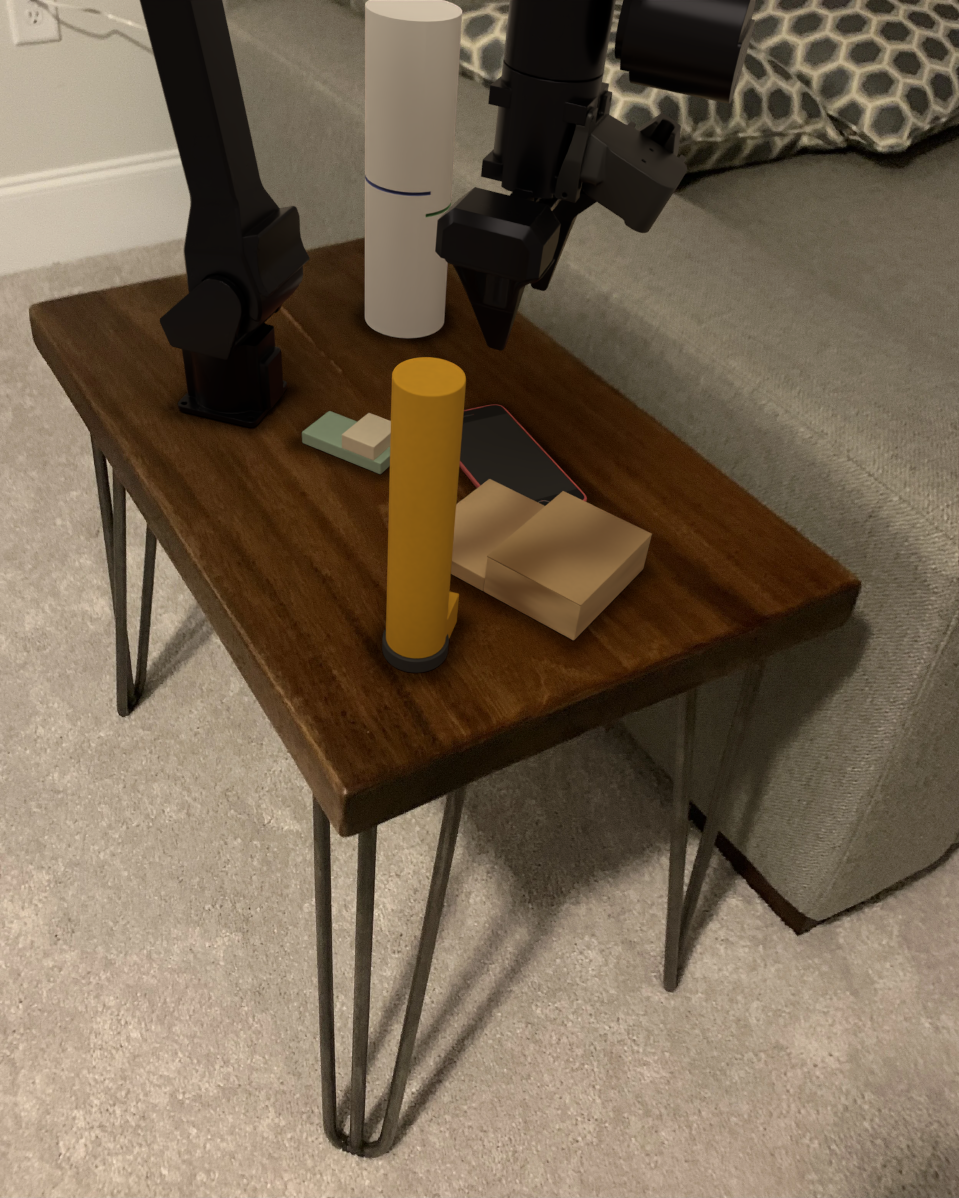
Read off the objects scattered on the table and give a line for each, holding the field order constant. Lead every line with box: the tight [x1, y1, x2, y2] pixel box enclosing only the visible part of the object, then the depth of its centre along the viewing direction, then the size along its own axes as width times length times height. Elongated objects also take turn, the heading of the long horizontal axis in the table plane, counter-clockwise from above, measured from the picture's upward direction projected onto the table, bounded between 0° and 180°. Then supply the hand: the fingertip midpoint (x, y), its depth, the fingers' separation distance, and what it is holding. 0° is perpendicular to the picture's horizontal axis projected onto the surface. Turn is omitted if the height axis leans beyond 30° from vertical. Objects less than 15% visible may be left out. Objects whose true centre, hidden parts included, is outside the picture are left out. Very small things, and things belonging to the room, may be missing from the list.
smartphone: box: [459, 403, 588, 506], centre depth 78 cm, size 7×1×14 cm
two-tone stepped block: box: [301, 410, 391, 475], centre depth 77 cm, size 7×4×2 cm, turn 61°
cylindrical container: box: [364, 0, 463, 339], centre depth 85 cm, size 7×7×25 cm
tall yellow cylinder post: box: [381, 356, 467, 674], centre depth 57 cm, size 5×4×19 cm
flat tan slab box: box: [451, 479, 653, 641], centre depth 69 cm, size 13×9×3 cm
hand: (518, 317), depth 69 cm, fingers open, 9 cm apart
